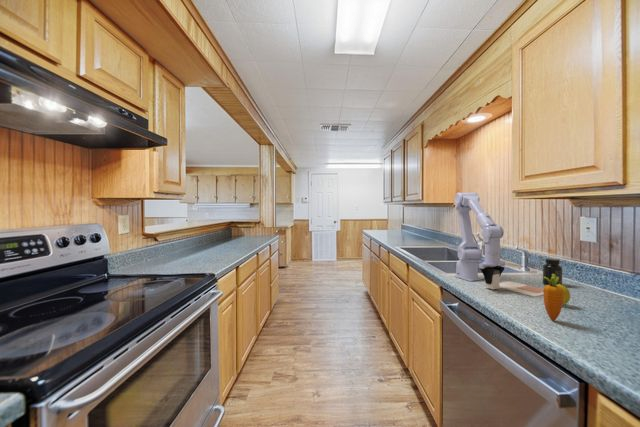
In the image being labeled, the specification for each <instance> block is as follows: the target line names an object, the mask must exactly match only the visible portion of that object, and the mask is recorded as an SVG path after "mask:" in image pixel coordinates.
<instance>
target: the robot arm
mask: <svg viewBox="0 0 640 427" xmlns="http://www.w3.org/2000/svg"><path fill="white" fill-rule="evenodd" d="M453 199H454V206H455V210H457V215H458V221H459V228H460V235H461V243H459V244H458V246H457V258H458V259H459V260H457V261H456V265H455V266H456V268H455V275H454V277H455V278H459V279H462V280H466V281H469V282H474V281H480V280H483V278H481V277H478V276H479V271H478V270H480V271H481V273H482V275H483V277H484V283H485V282H486V283H487V284H491V283H492V276H493V273H494V271H495V270H494V269H496V270H500V277H501V275H502V274H503V272H504V271H505V266H506V261H503V260H501V239H502V238H503V237H504V229H503V226H501V225H500V224H497V223H496V222H495V221H494V220H493V218H492V217H491V215H490V214H489V213H487V212H485V210H484V209H483V207H482V205H481V203H480V200H481V199H480V196H479V193H478V192H457V193H455V196H454V198H453ZM470 211H472V212H473V213H474V214H475V216H476V218H475V219H476V222H477V224H478V225H479V227H480V228H481V229H482V230H481V236H482V238H483V240H482V241H483V242H484V261H483V262H480V260H482V258H483V252H482V250H481V247H480V244H478V243H477V242H475V240H474V234H473V228H472V223H471V216H470ZM479 262H480V263H479Z"/></svg>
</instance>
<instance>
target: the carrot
mask: <svg viewBox="0 0 640 427" xmlns="http://www.w3.org/2000/svg"><path fill="white" fill-rule="evenodd" d="M544 279H546V280H547V281H548V282H549V283H550V285H544V287H543V288H542V289H543V291H544V295H543V303H544V307H545V311H546V313H547V315H548V317H549V319H550V320H551V321H552V322H555V321H556V320H557V319H558V317H559V316H560V314H561V312H562V309H563V308H562V307H563V305H564V304H563V293H564V291H563V289H562V288H561V287H559V286H556V284H557V282H558V280H559V277H556V275H555V274H552V277H551V280H549V279H548V278H547V277H544Z"/></svg>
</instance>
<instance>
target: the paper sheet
mask: <svg viewBox="0 0 640 427" xmlns="http://www.w3.org/2000/svg"><path fill="white" fill-rule="evenodd" d="M500 288H501V289H504V290H508V291H512V292H515V293H519V294H522V295H526V296H529V297H532V298H533V297H534V298H537V297H542V296H544V291H543V289H544V288H539V287H535V286H531V285H528V284H525V283H524V284H523V283H519V282H515V281H511V280H508V281H502V282H499V289H500Z"/></svg>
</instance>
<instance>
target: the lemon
mask: <svg viewBox="0 0 640 427" xmlns="http://www.w3.org/2000/svg"><path fill="white" fill-rule="evenodd" d="M556 286H559V287H561V288H562V289H563V291H564V293H563V304H562V305H566V304H568V303H569V301H570V299H571V292H570V290H569V288H567V287H566V286H565V285H563V284H562V285H561V284H558V285H556Z"/></svg>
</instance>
